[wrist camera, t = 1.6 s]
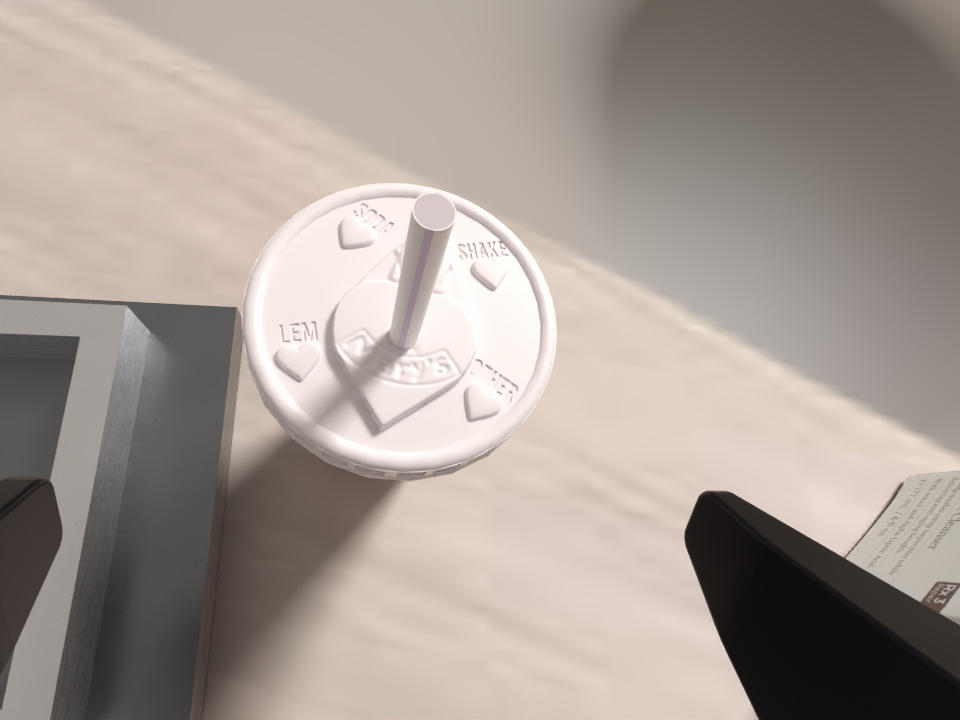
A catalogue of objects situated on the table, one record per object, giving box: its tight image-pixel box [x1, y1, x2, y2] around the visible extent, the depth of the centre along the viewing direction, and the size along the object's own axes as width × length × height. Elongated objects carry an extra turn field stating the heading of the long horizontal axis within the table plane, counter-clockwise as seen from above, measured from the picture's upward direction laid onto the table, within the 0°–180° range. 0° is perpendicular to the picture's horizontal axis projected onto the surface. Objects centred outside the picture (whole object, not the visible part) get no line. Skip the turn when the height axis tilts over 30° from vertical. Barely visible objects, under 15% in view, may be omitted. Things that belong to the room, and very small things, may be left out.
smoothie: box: [242, 183, 557, 481], centre depth 13 cm, size 6×6×14 cm
